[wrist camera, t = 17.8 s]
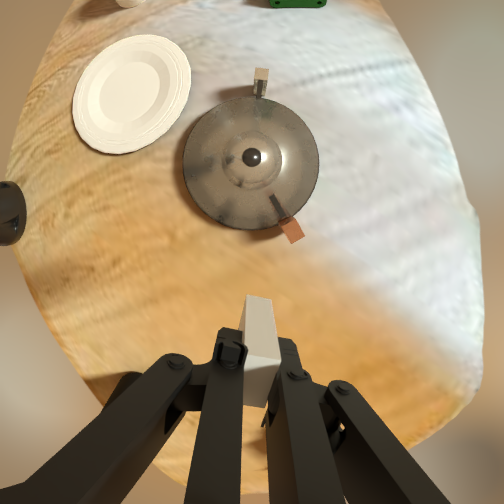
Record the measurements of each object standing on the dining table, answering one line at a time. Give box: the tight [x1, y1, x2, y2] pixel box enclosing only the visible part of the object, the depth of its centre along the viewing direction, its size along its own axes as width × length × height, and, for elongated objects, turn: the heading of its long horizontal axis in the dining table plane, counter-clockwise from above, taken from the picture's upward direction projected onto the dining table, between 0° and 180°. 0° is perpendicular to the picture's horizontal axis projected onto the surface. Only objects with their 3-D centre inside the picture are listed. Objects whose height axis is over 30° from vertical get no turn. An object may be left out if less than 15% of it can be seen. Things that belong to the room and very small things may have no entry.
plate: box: [72, 35, 191, 154], centre depth 44 cm, size 25×25×2 cm
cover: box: [221, 131, 282, 190], centre depth 43 cm, size 10×10×6 cm
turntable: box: [183, 97, 318, 244], centre depth 44 cm, size 25×22×6 cm
